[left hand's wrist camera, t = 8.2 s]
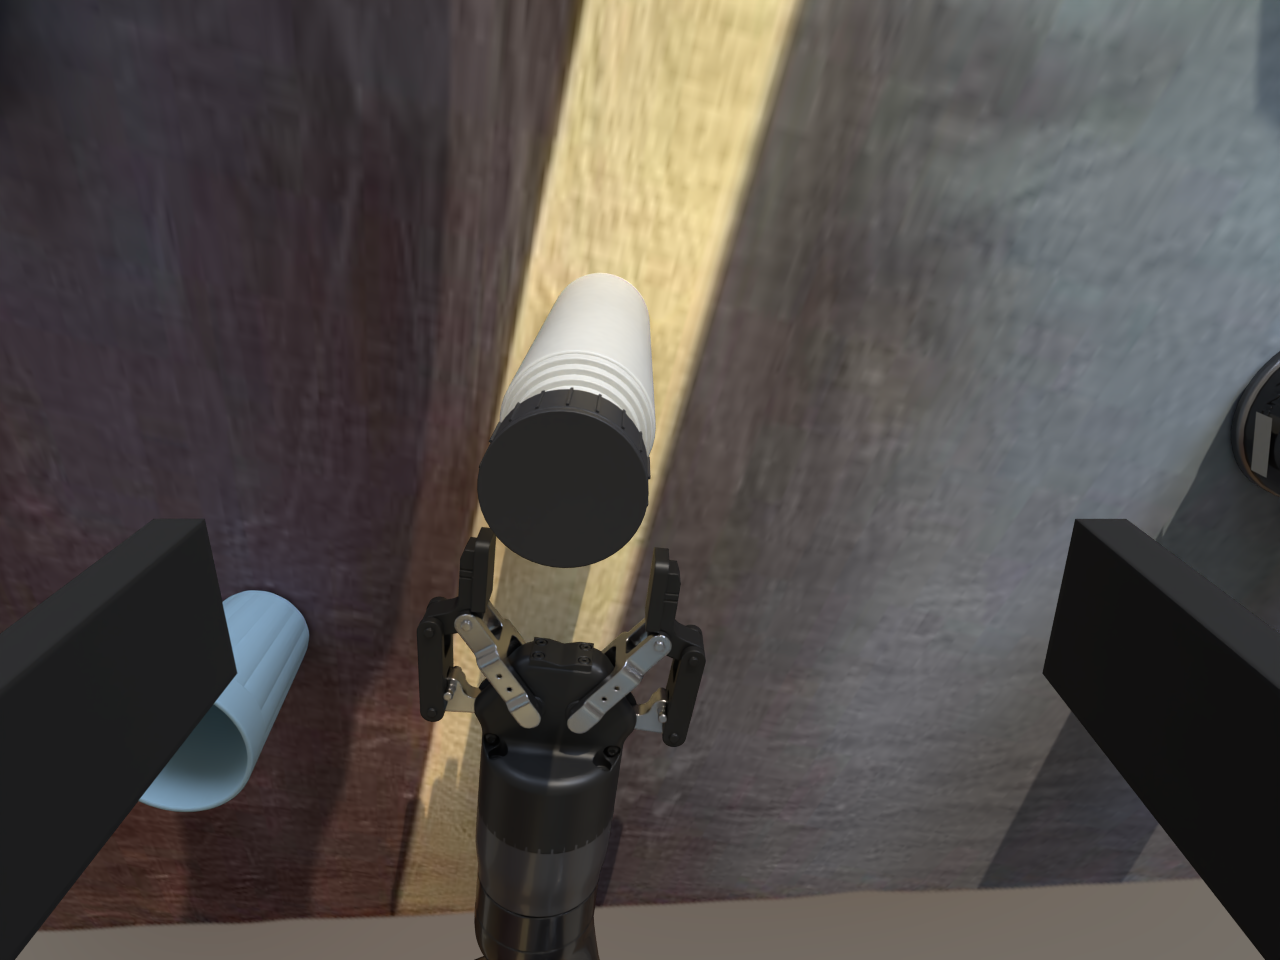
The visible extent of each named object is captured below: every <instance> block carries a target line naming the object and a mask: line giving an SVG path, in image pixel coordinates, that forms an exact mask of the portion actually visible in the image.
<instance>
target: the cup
mask: <svg viewBox="0 0 1280 960" xmlns="http://www.w3.org/2000/svg"><path fill="white" fill-rule="evenodd" d="M222 603H223V607H224V612H225V617H226V622H227V626H228V631H229V636H230V640H231V645H232V650H233V655H234V659H235V664H236V669H237V675H236V676H235V677H234V679H233V680H232V681H231V682H230V684H229V685H228V686H227V688H226V689H225V690H224V691H223V693H222V694H221V695H220V697H219V698H218V699H217V700H216V702H215V703H214V704H213V706H212V707H211V708H210V709H209V711H208V712H207V713H206V715H205V716H204V717H203V718H202V720H201V721H200V722H199V724H198V725H197V726H196V727H195V729H194V730H193V731H192V733H191V734H190V735H189V736H188V738H187V739H186V740H185V742H184V743H183V744H182V745H181V747H180V748H179V749H178V751H177V752H176V753H175V754H174V756H173V757H172V758H171V760H170V761H169V762H168V763H167V765H166V766H165V767H164V769H163V770H162V771H161V772H160V774H159V775H158V776H157V778H156V779H155V780H154V781H153V783H152V784H151V785H150V787H149V788H148V789H147V790H146V792H145V793H144V794H143V796H142V797H141V798H140V799H139V801H140V802H142V803H145V804H147V805H150V806H153V807H157V808H160V809H164V810H170V811H178V812H195V811H202V810H207V809H211V808H215V807H217V806H220V805H222V804H224V803H226V802H228V801H229V800H231V799H232V798H234V797H235V796H236V795H237V794H238V793H239V792H240V791H241V790H242V789H243V788H244V786H245V785H246V783H247V782H248V780H249V778H250V775H251V773H252V771H253V769H254V767H255V764H256V762H257V760H258V758H259V755H260V753H261V751H262V749H263V746H264V744H265V742H266V740H267V737H268V735H269V733H270V731H271V729H272V726H273V724H274V722H275V720H276V718H277V715H278V713H279V711H280V709H281V707H282V704H283V702H284V700H285V698H286V696H287V693H288V691H289V689H290V687H291V685H292V682H293V680H294V678H295V676H296V673H297V671H298V669H299V667H300V665H301V662H302V660H303V658H304V655H305V653H306V651H307V647H308V641H309V630H308V627H307V624H306V621H305V619H304V617H303V616H302V614H301V613H300V612H299V611H298V609H297V608H296V607H295V606H294V605H293V604H291V603H290V602H289V601H288V600H286V599H284V598H282V597H280V596H278V595H276V594H273V593H270V592H266V591H255V590H249V591H244V592H241V593H238V594H235V595H232V596H230V597H229V598H227V599H226V600H224V601H223V602H222Z"/></svg>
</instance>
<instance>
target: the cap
mask: <svg viewBox="0 0 1280 960" xmlns="http://www.w3.org/2000/svg"><path fill="white" fill-rule="evenodd" d="M489 442H490V445H489V447H488V449H487V451H486V453H485V455H484V457H483V459H482V461H481V463H480V465H479V468H480V469H479V474H478V487H477V490H478V499H479V503H480V507H481V511H482V513H483V515H484V518H485V520H486V522H487V523H488V525H489V527H490V529H491V530H492V531H493V533H494V534H495V535H496V536H497V538H498V539H499V540H500V541H501V542H502V543H503V544H504V545H505V546H507V547H508V548H509V549H511V550H512V551H513V552H515V553H516V554H518V555H520V556H521V557H523V558H525V559H527V560H530V561H532V562H535V563H538V564H541V565H545V566H550V567H558V568H575V567H581V566H586V565H590V564H594V563H597V562H599V561H601V560H604V559H606V558H608V557H609V556H611V555H613V554H615V553H616V552H617V551H619V550H620V549H621V548H622V547H623V546H625V545H626V544H627V543H628V542H629V541H630V539H631V538H632V537H633V536H634V534H635V533H636V532H637V530H638V528H639V526H640V525H641V523H642V520H643V518H644V515H645V512H646V508H647V506H648V494H649V493H648V479H650V457H647V452H646V447H645V444H644V441H643V438H642V431H640V432H639V430H638V428H637V427H636V425H635V424H634V422H633V421H632V420H631V419H630V418H629V416H628V415H627V414H626V411H625V410H624V409H623V410H621V409H620V408H619V407H618V406H617V405H615V404H614V403H612V402H611V401H609V400H607V399H605V398H603V397H602V395H601V394H599V395H596V394H593V393H590V392H586V391H582V390H574V388H573V387H571V388H570V389H557V390H551V391H546V392H545V390H543V391H541V393H540V394H537V395H535V396H532V397H530V398H528V399H526V400H525V401H523V402H522V403H519V402H518V403H517V404H516V406H515V408H514V409H513V410H511V411H510V413H509V414H508V415H507V416H506V417H505V418H504V420H503V421H502V423H501V422H499V423H498V425H497V427H496V429H495V431H494V432H493V434H492V436H491V438H490V440H489Z"/></svg>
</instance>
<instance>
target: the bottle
mask: <svg viewBox="0 0 1280 960" xmlns="http://www.w3.org/2000/svg"><path fill="white" fill-rule="evenodd" d="M571 387H573V388H574V390H582V391H586V392H590V393H593V394H596V395H599V394H601V395H602V397H603V398H605V399H607V400H609V401H611V402H612V403H614V404H615V405H617V406H618V407H619V408H620V409H621V410H623V409H624V410H625V411H626V414H627V415H628V416H629V418H630V419H631V420H632V421H633V422H634V424H635V425H636V427H637V428H638V430H639V432H640V431H642V438H643V441H644V444H645V447H646V452H647V457H648V456H649V454H650V452H651V449H652V446H653V442H654V438H655V429H656V427H655V406H654V389H653V372H652V354H651V337H650V320H649V312H648V309H647V305H646V303H645V301H644V299H643V297H642V296H641V294H640V293H639V292H638V290H637V289H636V288H635V287H634V286H633V285H632V284H630V283H629V282H628V281H626V280H624V279H622V278H621V277H618V276H615V275H612V274H607V273H593V274H588V275H585V276H582V277H580V278H578V279H576V280H574V281H573V282H571V283H570V284H569V285H568V286H566V287H565V289H564V290H563V291H562V292H561V294H560V295H559V297H558V298H557V300H556V302H555V304H554V306H553V307H552V309H551V311H550V313H549V315H548V317H547V318H546V320H545V322H544V324H543V326H542V327H541V329H540V331H539V333H538V335H537V337H536V338H535V340H534V342H533V344H532V346H531V348H530V349H529V351H528V353H527V355H526V357H525V358H524V360H523V362H522V364H521V366H520V368H519V369H518V371H517V373H516V375H515V377H514V378H513V380H512V382H511V384H510V386H509V388H508V390H507V392H506V394H505V396H504V399H503V402H502V406H501V412H500V422H501V423H502V421H503V420H504V418H505V417H506V416H507V415H508V414H509V413H510V411H511V410H513V409H514V408H515V406H516V404H517V403H518V402H519V403H522V402H523V401H525V400H526V399H528V398H530V397H532V396H535V395H537V394H540V393H541V391H543V390H545V392H546V391H551V390H557V389H570V388H571Z"/></svg>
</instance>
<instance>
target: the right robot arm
mask: <svg viewBox="0 0 1280 960" xmlns="http://www.w3.org/2000/svg"><path fill="white" fill-rule="evenodd" d="M1231 441H1232V449H1233V453H1234V456H1235V459H1236V461H1237V464H1238V466H1239V467H1240V469H1241V470H1242V472H1243V473H1244V474H1245V475H1246V477H1247V478H1249V479H1250V480H1251V481H1252V482H1253V483H1255V484H1256V485H1257V486H1259V487H1261V488H1263V489H1265V490H1266V491H1268V492H1270V493H1272V494H1274V495H1276V496H1279V497H1280V352H1278V353H1277V354H1276V355H1275V356H1273V357H1272V358H1271V359H1270V360H1269V361H1268V362H1267V363H1266V364H1265V365H1264V366H1263V367H1262V368H1261V369H1260V370H1259V371H1258V372H1257V374H1256V375H1255V376H1254V377H1253V378H1252V380H1251V381H1250V383H1249V384H1248V386H1247V387H1246V389H1245V391H1244V392H1243V394H1242V396H1241V398H1240V400H1239V403H1238V405H1237V408H1236V411H1235V414H1234V418H1233V423H1232V431H1231ZM495 545H496V535H495V534H494V533H493V531H492V530H491V529H490V528H486V527H481V530H480V532H479V534H478V537H477V538H475V537H470V539H469V541H468V543H467V545H466V547H465V549H464V552H463V554H462V556H461V559H460V578H459V596H458V597H456V598H453V599H446V598H444V597H435V598H433V599H432V600H431V601H430V602H429V604H428V607H427V611H426V613H425V615H424V617H423V620H421V622H420V624H419V626H418V628H417V646H418V669H419V692H420V713H421V715H422V717H423V718H424V719H425V720H427V721H431V722H436V721H439V720H441V719H442V718H443V716H444V713H445V711H453V712H471V713H475V715H476V717H477V718H478V720H479V722H480V724H481V726H482V746H481V761H480V775H479V790H478V806H477V821H476V850H477V858H478V873H477V887H476V902H475V933H476V939H477V942H478V945H479V947H480V950H481V952H482V953H483V955H484V956H483V957H480V958H478V959H475V960H600V959H599V955H598V949H597V942H596V936H595V927H594V917H593V916H594V910H595V902H596V895H597V888H598V881H599V875H600V871H601V868H602V865H603V862H604V859H605V856H606V852H607V848H608V843H609V837H610V830H611V823H612V818H613V812H614V803H615V797H616V789H617V783H618V776H619V769H620V762H621V756H622V749H623V744H624V741H625V740H626V738H627V737H628V736H629V735H630V733H631V732H632V731H633V730H634V729H637V730H643V731H650V732H656V733H662V736H663V741H664V743H665V744H666V745H668V746H671V747H677V746H680V745H682V744H683V743H684V742H685V739H686V735H687V732H688V728H689V724H690V720H691V716H692V712H693V708H694V705H695V701H696V697H697V693H698V689H699V685H700V681H701V678H702V674H703V670H704V666H705V653H704V645H703V637H702V631H701V629H700V628H699V627H697V626H695V625H687V626H684V625H682V624H680V623H678V622H677V621H676V620H675V615H676V609H677V603H678V597H679V591H680V585H681V583H680V572H679V567H678V564H677V561H673V560H669V550H668V549H665V548H656V547H654V552H653V559H652V565H651V572H650V579H649V586H648V592H647V599H646V606H645V618H644V619H643V620H642V621H641V622H640V623H639V624H637V625H636V626H635V627H634V628H633V629H632V630H631V631H629V632H623V633H621V634H620V635H619V636H618V637H617V638H616V639H615V640H613V641H612V642H611V643H610V644H609V645H608V646H607V647H606V648H604V649H603V650H602V651H599V650H598V649H595V648H593V647H594V643H585V642H574V643H566V644H564V643H560V642H557V641H554V640H552V639H548V638H538V637H534V641H533V642H528V643H526V642H525V641H524V640H523V638H522V637H521V635H520V634H519V633H518V631H517V630H516V629H515V627H514V626H513V625H512V623H511V622H510V621H509V620H508V619H503V618H502V617H501V615H500V614H499V613H498V611H497V610H496V609H495V607H494V606H493V605H492V603H491V602H490V601H489V599H490V596H491V593H492V590H493V575H494V560H495ZM454 633H459V635H460V636H461V637H462V639H463V640H464V641H465V643H466V644H467V645H468V646H469V648H470V649H471V650H472V652H473V653H474V654H475V656H476V661H477V665H478V667H479V669H480V670H481V672H482V673H483V674H484V675H485V677H486V679H485V680H484V681H483V682H482V683H481V684H480V686H479V688H476V687H473V686H471V685H470V684H468V682H467V680H466V676H465V674H464V673H463V672H462V669H461V667H459V666H454V667H453V634H454ZM666 655H667V656H669V657H671V658H673V661H672V666H671V670H670V674H669V678H668V682H667V686H666V689H665V688H659V689H658V690H657V691H656V692H655V693H653V695H652V696H651V698H650V700H649V701H648V702H647V703H645V704H641V705H638V704H636V700H635V698H634V696H633V695H632V693H631V691H632V690H633V689H634V688H635V687H636V686H637V685H638V684H639V683H640V682H641V680H642V678H643V676H644V674H645V673H646V672H647V671H648V670H649V669H650V668H652V667H653V666H654V665H655V664H656V663H657V662H659V661H660V660H661V659H662V658H663V657H664V656H666Z"/></svg>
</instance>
